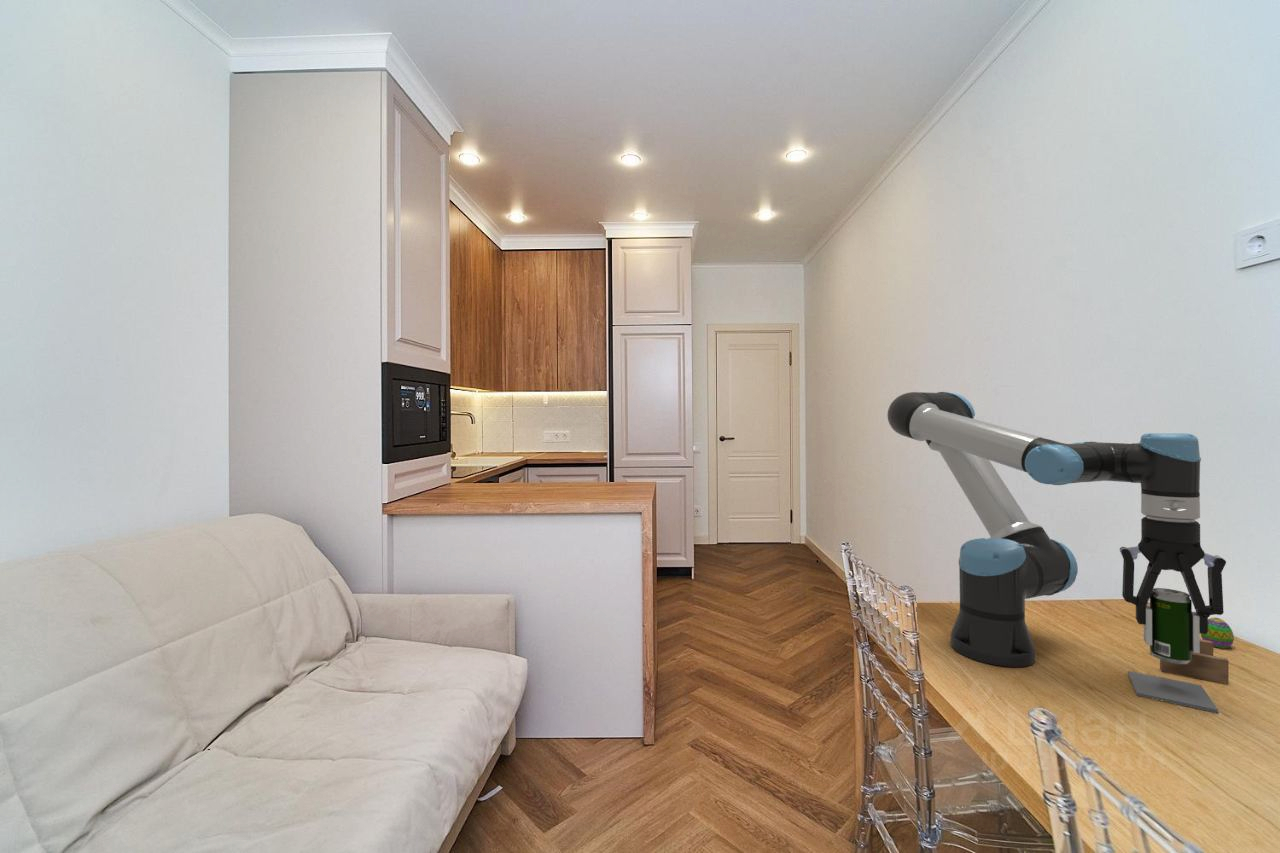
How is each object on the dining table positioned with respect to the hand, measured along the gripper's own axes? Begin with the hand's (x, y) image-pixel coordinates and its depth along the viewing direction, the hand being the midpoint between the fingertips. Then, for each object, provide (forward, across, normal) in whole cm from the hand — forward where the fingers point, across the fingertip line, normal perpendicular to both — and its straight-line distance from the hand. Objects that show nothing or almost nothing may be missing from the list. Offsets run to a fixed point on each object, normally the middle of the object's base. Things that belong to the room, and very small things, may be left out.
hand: (1170, 645), depth 95 cm
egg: (+9, +13, +33) cm, 37 cm away
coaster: (+8, 0, 0) cm, 8 cm away
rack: (+8, +5, +15) cm, 18 cm away
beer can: (+2, 0, 0) cm, 3 cm away
